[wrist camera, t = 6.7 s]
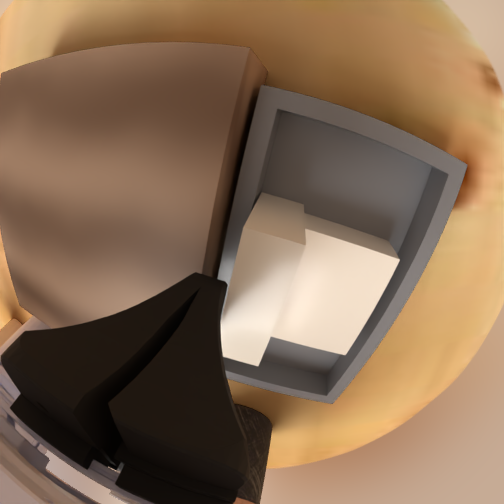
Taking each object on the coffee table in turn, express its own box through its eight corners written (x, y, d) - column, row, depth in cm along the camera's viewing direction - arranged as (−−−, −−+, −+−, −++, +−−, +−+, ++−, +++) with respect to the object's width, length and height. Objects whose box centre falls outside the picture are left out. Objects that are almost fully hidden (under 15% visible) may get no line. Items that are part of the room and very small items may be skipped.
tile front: (234, 295, 15) (269, 305, 15) (213, 353, 11) (258, 366, 11) (261, 192, 12) (303, 204, 12) (243, 227, 8) (306, 245, 8)
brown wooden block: (205, 354, 19) (186, 396, 15) (47, 282, 20) (19, 305, 16) (267, 71, 10) (250, 47, 7) (44, 71, 11) (1, 73, 8)
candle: (25, 324, 25) (-19, 370, 16) (41, 353, 28) (3, 398, 19) (7, 313, 26) (-33, 353, 17) (22, 341, 29) (-14, 381, 20)
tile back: (264, 334, 14) (270, 311, 15) (345, 355, 13) (343, 330, 15) (302, 227, 11) (303, 212, 13) (400, 259, 10) (388, 241, 12)
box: (332, 379, 18) (332, 403, 16) (210, 346, 18) (200, 369, 16) (445, 157, 10) (467, 164, 8) (269, 91, 11) (261, 84, 9)
